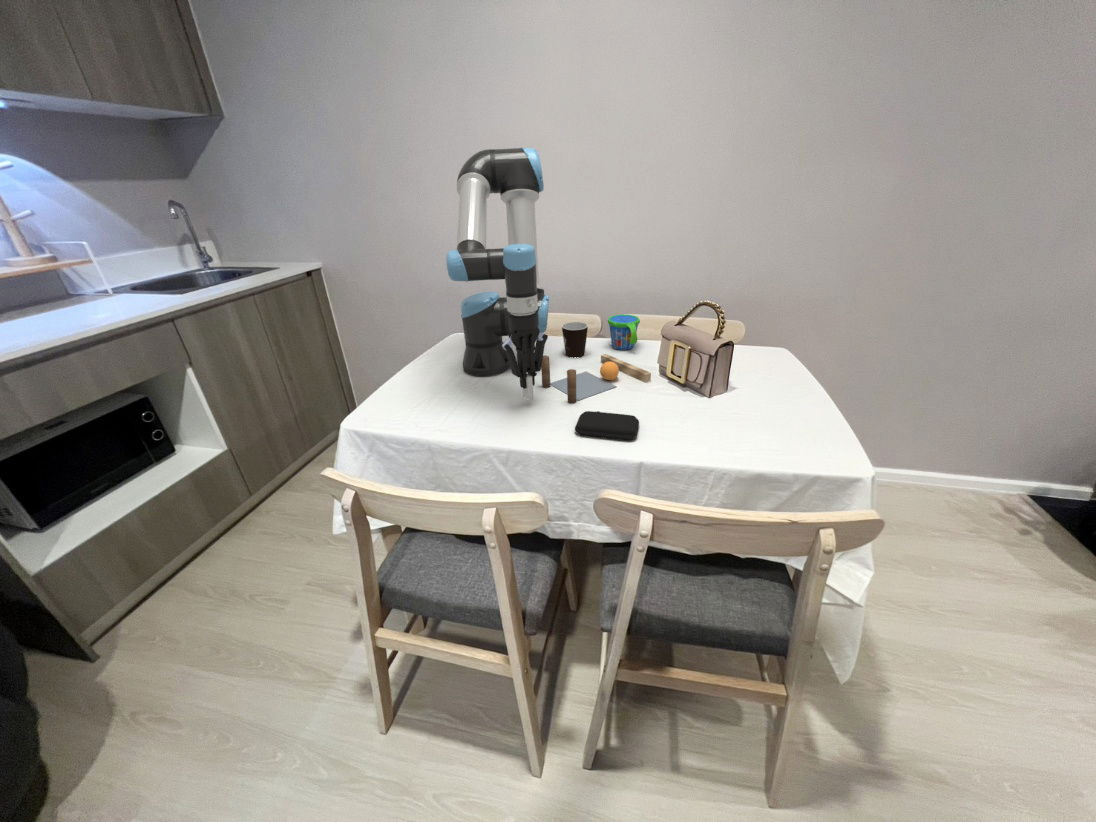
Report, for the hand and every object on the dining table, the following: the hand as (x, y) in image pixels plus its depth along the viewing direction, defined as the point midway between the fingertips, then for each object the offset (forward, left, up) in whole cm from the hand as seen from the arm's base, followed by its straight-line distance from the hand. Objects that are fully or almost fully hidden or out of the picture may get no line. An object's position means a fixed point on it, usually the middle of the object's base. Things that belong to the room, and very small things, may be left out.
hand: (528, 397), depth 124 cm
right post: (+6, +10, -2) cm, 12 cm away
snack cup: (-16, +49, -2) cm, 52 cm away
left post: (-6, +10, -2) cm, 12 cm away
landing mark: (0, +18, -2) cm, 19 cm away
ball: (+2, +27, +1) cm, 27 cm away
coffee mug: (-22, +33, -2) cm, 40 cm away
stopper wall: (0, +35, -2) cm, 35 cm away
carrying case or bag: (+23, +8, -3) cm, 24 cm away
